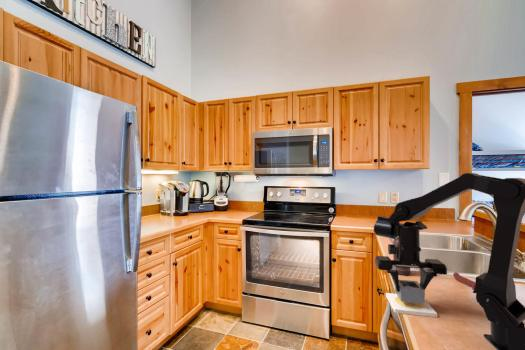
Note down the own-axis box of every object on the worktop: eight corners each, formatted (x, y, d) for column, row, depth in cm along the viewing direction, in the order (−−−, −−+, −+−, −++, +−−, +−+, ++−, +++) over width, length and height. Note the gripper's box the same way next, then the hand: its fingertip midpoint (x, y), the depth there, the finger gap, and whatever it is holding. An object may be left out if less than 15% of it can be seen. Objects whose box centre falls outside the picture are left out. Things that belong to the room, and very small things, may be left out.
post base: (437, 317, 72) (437, 297, 72) (394, 312, 75) (394, 293, 75) (422, 299, 83) (422, 282, 83) (385, 295, 86) (385, 279, 86)
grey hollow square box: (424, 303, 75) (424, 289, 75) (401, 301, 77) (400, 287, 77) (416, 293, 81) (416, 281, 82) (395, 291, 83) (394, 279, 83)
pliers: (470, 299, 84) (470, 291, 84) (452, 277, 103) (452, 270, 103) (516, 306, 80) (516, 297, 80) (488, 281, 98) (488, 275, 98)
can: (410, 272, 107) (410, 238, 107) (409, 277, 102) (409, 241, 102) (394, 269, 110) (394, 236, 110) (392, 274, 105) (392, 239, 105)
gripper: (431, 237, 85) (432, 284, 85) (371, 234, 89) (372, 279, 89) (447, 246, 74) (448, 300, 74) (378, 242, 78) (379, 293, 78)
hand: (409, 292), depth 79 cm, fingers closed on grey hollow square box, 6 cm apart
